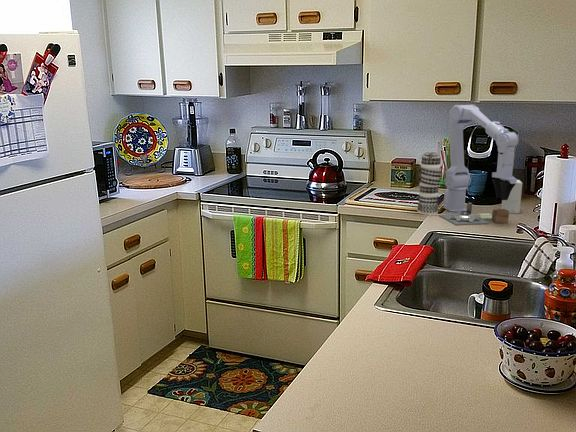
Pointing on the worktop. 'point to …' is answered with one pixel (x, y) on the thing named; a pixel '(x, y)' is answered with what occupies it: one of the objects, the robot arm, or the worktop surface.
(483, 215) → the timing pad
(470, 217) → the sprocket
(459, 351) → the worktop surface
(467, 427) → the worktop surface
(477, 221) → the slate board
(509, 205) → the small box
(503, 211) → the link block
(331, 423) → the worktop surface
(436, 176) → the decorative candle
